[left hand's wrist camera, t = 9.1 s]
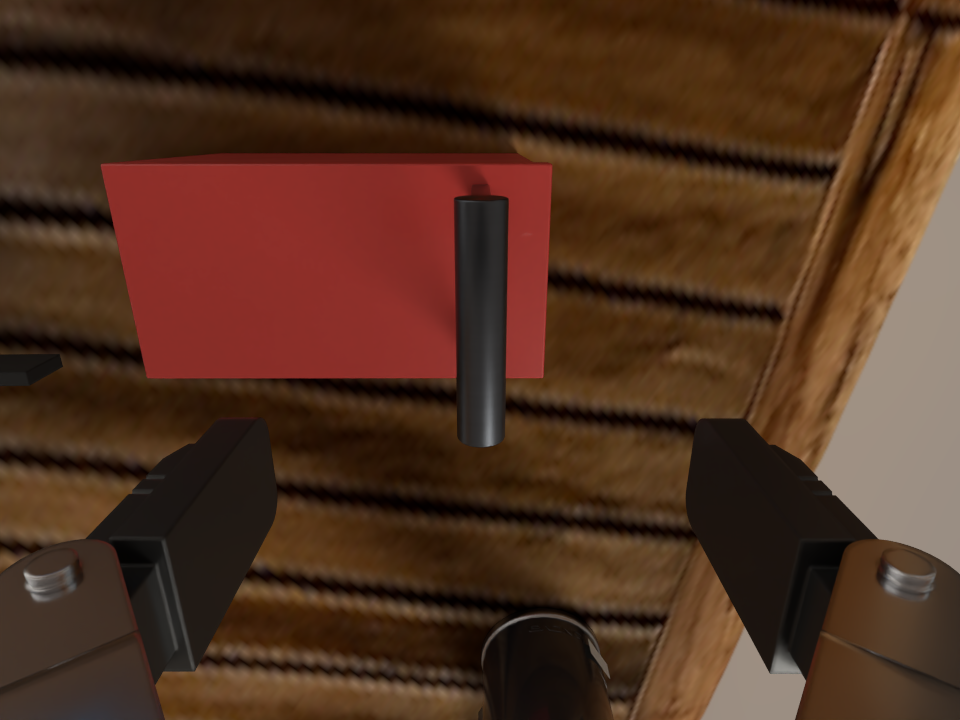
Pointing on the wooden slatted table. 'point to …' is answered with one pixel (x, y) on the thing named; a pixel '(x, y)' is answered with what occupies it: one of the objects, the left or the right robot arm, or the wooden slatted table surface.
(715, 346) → the wooden slatted table surface
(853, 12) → the wooden slatted table surface
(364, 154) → the chest
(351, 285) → the lid
